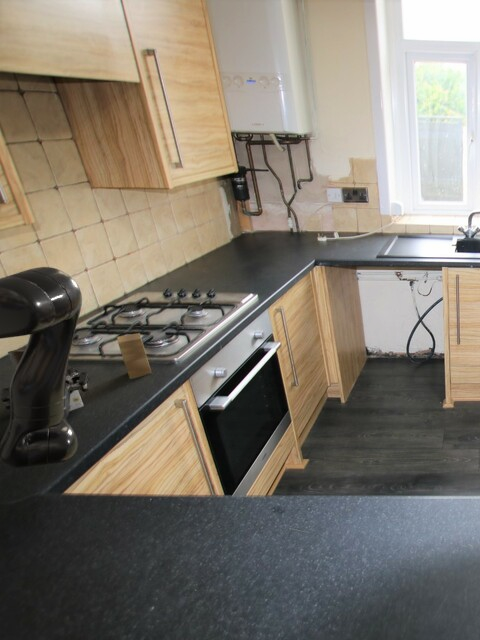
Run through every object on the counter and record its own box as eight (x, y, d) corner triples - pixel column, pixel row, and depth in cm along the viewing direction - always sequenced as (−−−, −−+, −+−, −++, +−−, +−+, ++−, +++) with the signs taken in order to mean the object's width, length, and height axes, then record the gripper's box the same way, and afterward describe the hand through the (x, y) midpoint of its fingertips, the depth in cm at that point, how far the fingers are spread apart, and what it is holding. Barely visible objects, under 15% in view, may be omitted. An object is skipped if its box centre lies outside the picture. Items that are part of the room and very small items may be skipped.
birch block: (130, 382, 130) (117, 342, 125) (129, 375, 134) (117, 336, 129) (153, 377, 133) (141, 338, 128) (151, 371, 137) (139, 332, 132)
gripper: (83, 382, 103) (83, 354, 114) (-10, 402, 94) (0, 370, 106) (94, 411, 106) (93, 381, 117) (5, 433, 97) (13, 399, 109)
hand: (49, 376), depth 111 cm, fingers closed on coffee box, 8 cm apart
